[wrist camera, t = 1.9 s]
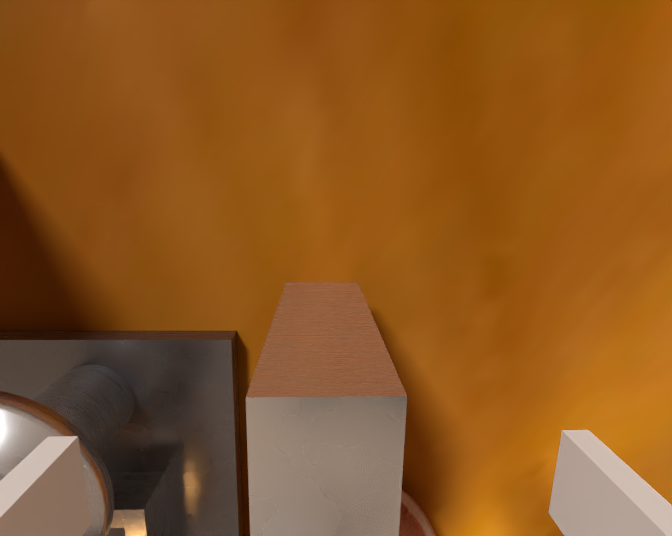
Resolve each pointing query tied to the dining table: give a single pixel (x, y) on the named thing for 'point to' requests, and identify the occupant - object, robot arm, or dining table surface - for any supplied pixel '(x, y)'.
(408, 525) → the fruit slice
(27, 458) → the robot arm
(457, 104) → the dining table surface
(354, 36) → the dining table surface
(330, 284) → the rectangular block
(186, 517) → the grey press stand
